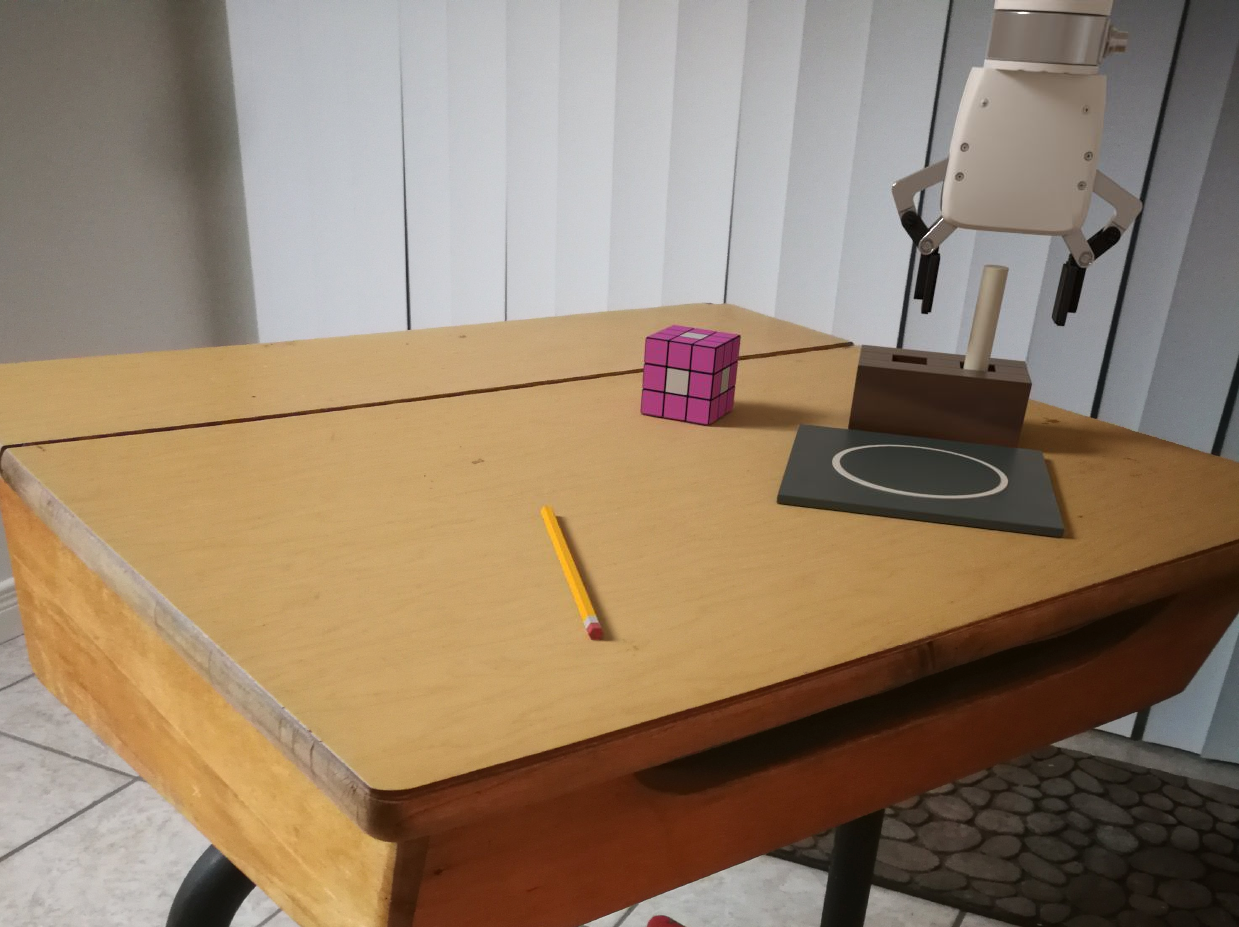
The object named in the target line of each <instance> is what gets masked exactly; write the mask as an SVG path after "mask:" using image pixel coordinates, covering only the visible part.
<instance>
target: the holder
mask: <svg viewBox="0 0 1239 927" xmlns="http://www.w3.org/2000/svg"><path fill="white" fill-rule="evenodd" d="M965 358H966V354H959V353H958V354H957V353H950V352H949V353H947V352H939V351H928V350H919V349H909V348H899V347H891V346H881V345H872V344H861V347H860V352H859V358H858V363H857V369H856V375H855V380H854V388H853V394H852V400H851V407H850V413H849V418H848V419H849V420H848V426H847V429H851V430H860V431H869V432H878V433H887V434H896V435H905V436H913V437H922V438H931V439H940V440H949V441H958V442H967V443H976V444H985V445H994V446H1003V447H1012V448H1019V444H1020V439H1021V435H1022V430H1023V426H1024V422H1025V417H1026V413H1027V409H1028V405H1029V399H1030V395H1031V392H1032V387H1033V382H1032V378H1031V376H1030V372H1029V370H1028V366H1027V362H1026V361H1025V360H1018V359H1017V360H1016V359H1007V358H996V357H995V358H994V357H990V361H989V366H988V371H979V370H969V369H963V368H964V363H965Z"/></svg>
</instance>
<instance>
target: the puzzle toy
mask: <svg viewBox="0 0 1239 927" xmlns="http://www.w3.org/2000/svg"><path fill="white" fill-rule="evenodd" d="M741 338H742V335H740V334H738V333H731V332H726V331H725V332H724V331H717V330H713V329H712V330H711V329H705V328H699V327H698V328H697V327H691V326H685V325H679V324H672V325H670V326H668V327H665V328H663V329H661V330H659V331H657V332H654V333H651V334H649V335H647V336H646V337H645V339H644V340H645V341H644V342H645V343H644V354H643V355H644V358H643V369H642V382H641V384H642V385H641V387H642V388H641V398H640V399H641V401H640V411H639V412H640V414H641V415H644V416H651V417H657V418H661V419H663V418H664V419H669V420H673V421H679V422H687V423H690V424H696V425H702V426H711V425H712V424H713V423H715V422H717V421H718V420H719V419H721V418H722V417H724V416H725V415H727V414H729V413H730V412H731V411H733V410H734V403H735V394H736V385H737V376H738V367H739V357H740V348H741V340H742V339H741Z"/></svg>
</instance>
